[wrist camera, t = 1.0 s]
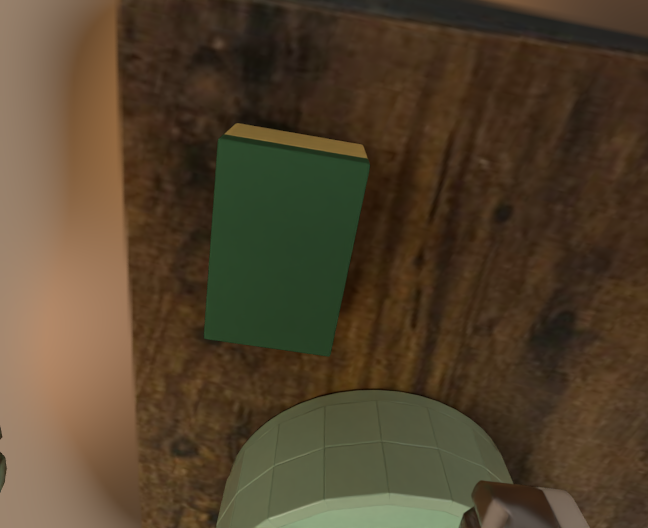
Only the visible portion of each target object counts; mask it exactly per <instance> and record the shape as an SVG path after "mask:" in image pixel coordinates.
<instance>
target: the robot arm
mask: <svg viewBox="0 0 648 528" xmlns="http://www.w3.org/2000/svg"><path fill="white" fill-rule="evenodd" d="M1 438H2V433H1V428H0V439H1ZM6 469H7V468H6V460H5V457H4V455H2V453H1V452H0V492H1V489H2V487H3V485H4V482H5V475H6ZM471 498H472V501H473V504H474V506H473V507H472V508H470V509H469V510H467V511H466V512H464V513H463V516H462V519H461V521H460V524H459V528H590V527H589V526H588V524H587V522H586V520H585V518H584V517H583V515H582V513H581V511H580V510H579V508H578V506H577V504H576V503H575V501H574V499H573V497H572V496H571V495H570V494H569V493H568V492H567V491H565V490H560V489H552V488H543V487H533V486H527V485H518V484H510V483H501V482H492V481H484V480H480V481H479V482H478V483H477V484H476V485H475V486H474V489H473V491H472V493H471Z"/></svg>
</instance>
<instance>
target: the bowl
mask: <svg viewBox="0 0 648 528" xmlns="http://www.w3.org/2000/svg"><path fill="white" fill-rule="evenodd" d="M480 480H484V481H492V482H501V483H510V484H514V482H513V479H512V477H511V475H510V473H509V471H508V469H507V466H506V464H505V462H504V459H503V457H502V455H501V453H500V451H499V449H498V448H497V446H496V445H495V443H494V441H493V440H492V439H491V438H490V437H489V436H488V434H487V433H486V432H485V431H484V430H483V429H482V428H481V427H480V426H478V425H477V424H476V423H475V422H474V421H472V420H471V419H470V418H469V417H467V416H465V415H464V414H462V413H461V412H459V411H457V410H456V409H454V408H452V407H449V406H447V405H445V404H443V403H441V402H438V401H436V400H432V399H429V398H426V397H423V396H420V395H415V394H410V393H405V392H399V391H388V390H355V391H347V392H339V393H334V394H330V395H325V396H321V397H317V398H314V399H311V400H309V401H306V402H303V403H300V404H298V405H296V406H294V407H292V408H290V409H287V410H285V411H283V412H282V413H280V414H278V415H277V416H275V417H274V418H272V419H271V420H269V421H268V422H266V423H265V424H264V425H263V426H262V427H261V428H259V429H258V430H257V431H256V432H255V433H254V434H253V435H252V436H251V437H250V438H249V440H248V441H247V442H246V443H245V444H244V445H243V447H242V448H241V450H240V452H239V453H238V455H237V456H236V458H235V461H234V463H233V465H232V468H231V470H230V474H229V478H228V479H227V482H226V485H225V490H224V494H223V498H222V503H221V507H220V511H219V516H218V520H217V525H216V528H459V524H460V521H461V519H462V516H463V513H464V512H466V511H467V510H469V509H470V508H472V507H473V506H474V504H473V501H472V498H471V493H472V491H473V489H474V486H475V485H476V484H477V483H478V482H479V481H480Z"/></svg>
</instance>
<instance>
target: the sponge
mask: <svg viewBox="0 0 648 528" xmlns="http://www.w3.org/2000/svg"><path fill="white" fill-rule="evenodd" d="M369 170H370V163H369V160H368V158H367V155H366V152H365V150H364V147H363V145H361V144H355V143H350V142H344V141H338V140H332V139H327V138H321V137H315V136H309V135H303V134H298V133H292V132H286V131H280V130H274V129H269V128H263V127H257V126H251V125H245V124H240V123H237V124H235V125H234V126H233V127H232V128H231V129H229V130H228V131H227V132H226V133H225V134H224V135H222V136H221V137H220V138H219V139H218V145H217V159H216V173H215V187H214V201H213V215H212V229H211V243H210V256H209V270H208V284H207V298H206V312H205V326H204V339H209V340H216V341H223V342H230V343H237V344H244V345H251V346H258V347H265V348H272V349H279V350H286V351H293V352H300V353H307V354H314V355H321V356H330V355H331V350H332V345H333V340H334V336H335V331H336V326H337V321H338V317H339V312H340V307H341V302H342V298H343V293H344V288H345V284H346V279H347V274H348V269H349V265H350V260H351V255H352V250H353V246H354V241H355V236H356V231H357V227H358V222H359V217H360V212H361V208H362V203H363V198H364V193H365V189H366V184H367V179H368V175H369Z"/></svg>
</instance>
